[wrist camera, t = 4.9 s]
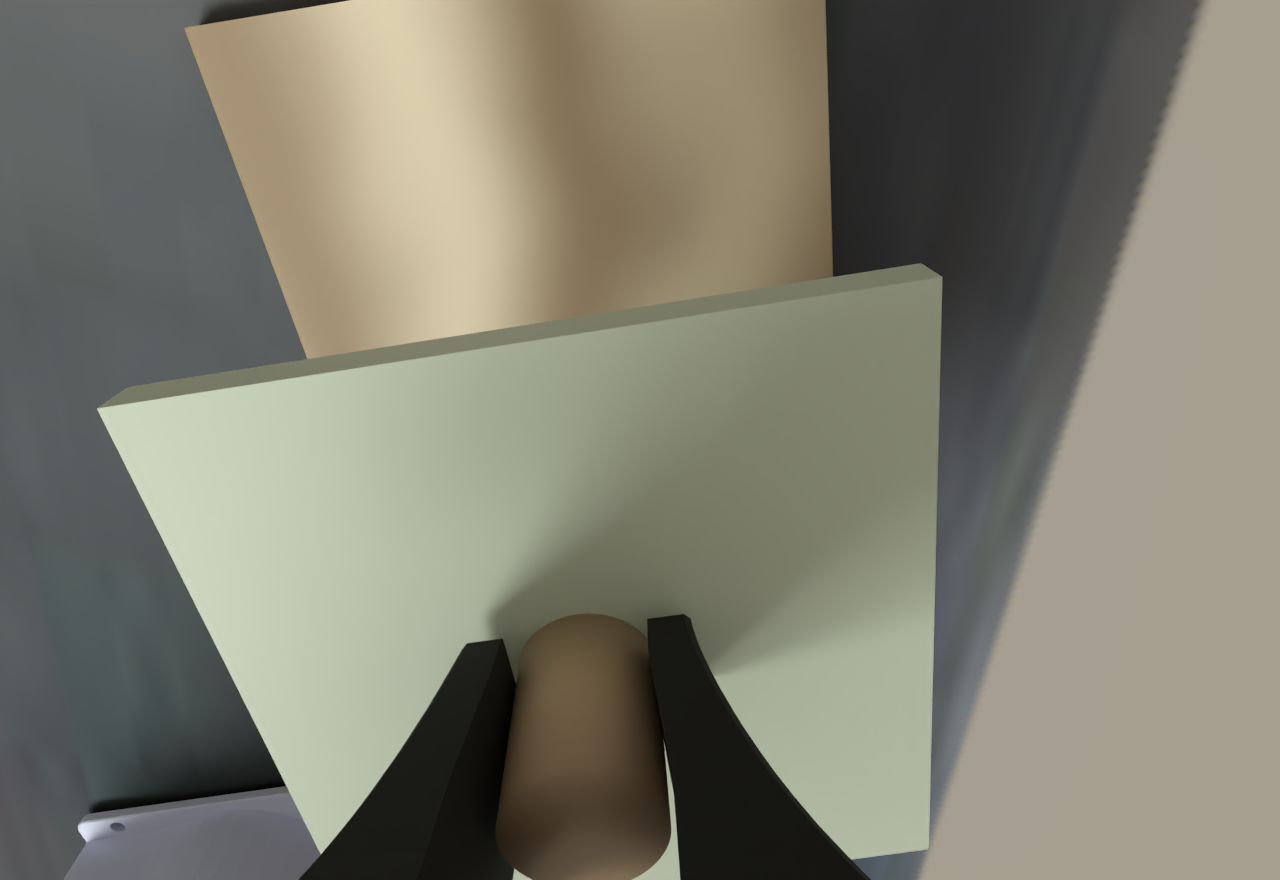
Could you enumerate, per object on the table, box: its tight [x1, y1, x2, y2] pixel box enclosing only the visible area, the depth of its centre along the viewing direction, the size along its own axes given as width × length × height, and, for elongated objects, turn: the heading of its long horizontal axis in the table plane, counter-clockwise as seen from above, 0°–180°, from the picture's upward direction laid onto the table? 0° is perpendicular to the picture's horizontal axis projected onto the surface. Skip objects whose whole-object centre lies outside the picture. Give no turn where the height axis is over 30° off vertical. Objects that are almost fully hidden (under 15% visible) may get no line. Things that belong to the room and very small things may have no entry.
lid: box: [97, 263, 942, 880], centre depth 13 cm, size 12×12×5 cm
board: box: [185, 0, 833, 359], centre depth 20 cm, size 14×14×1 cm
